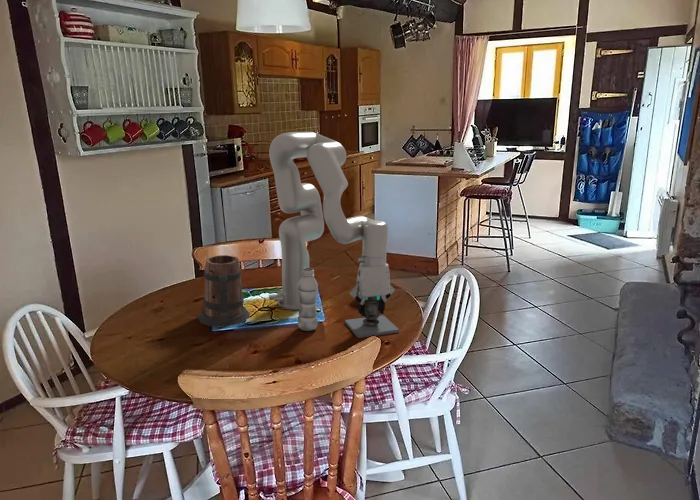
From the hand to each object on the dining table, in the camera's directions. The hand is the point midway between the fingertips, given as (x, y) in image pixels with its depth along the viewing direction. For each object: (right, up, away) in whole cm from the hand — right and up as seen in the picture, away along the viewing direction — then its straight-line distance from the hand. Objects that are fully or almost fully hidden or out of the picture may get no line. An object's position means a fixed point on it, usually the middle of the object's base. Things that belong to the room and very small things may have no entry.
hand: (371, 313), depth 167 cm
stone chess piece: (0, -3, +1) cm, 3 cm away
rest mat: (0, -5, +1) cm, 5 cm away
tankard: (-48, -3, +4) cm, 48 cm away
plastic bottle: (-20, -5, -1) cm, 21 cm away
